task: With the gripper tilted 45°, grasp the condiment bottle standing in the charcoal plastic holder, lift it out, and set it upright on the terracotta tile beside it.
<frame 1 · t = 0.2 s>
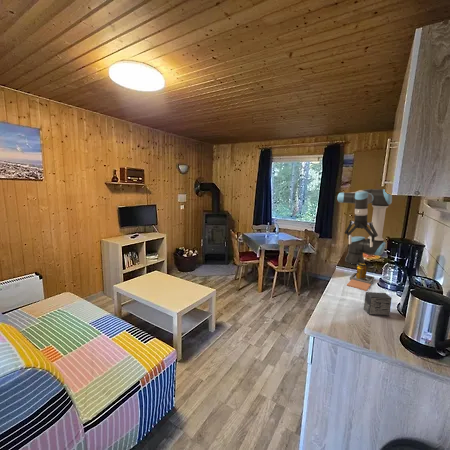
hand: (360, 245, 163), 27 cm above the countertop, tool pointing down, fingers open, 13 cm apart
holder: (361, 279, 172), on the countertop
tile: (358, 285, 162), on the countertop
small box: (376, 313, 128), on the countertop
condiment: (361, 280, 172), resting in holder
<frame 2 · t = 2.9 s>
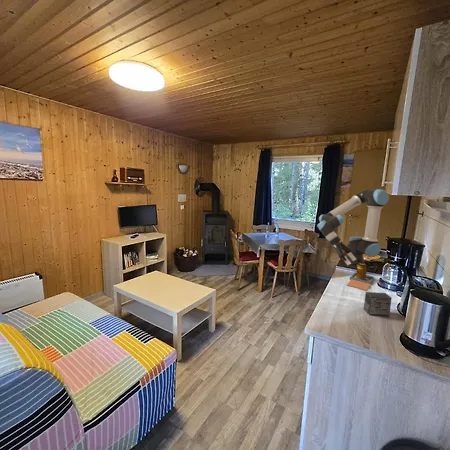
hand: (352, 262, 174), 12 cm above the countertop, tool tilted 45°, fingers open, 13 cm apart
nothing on the countertop moved.
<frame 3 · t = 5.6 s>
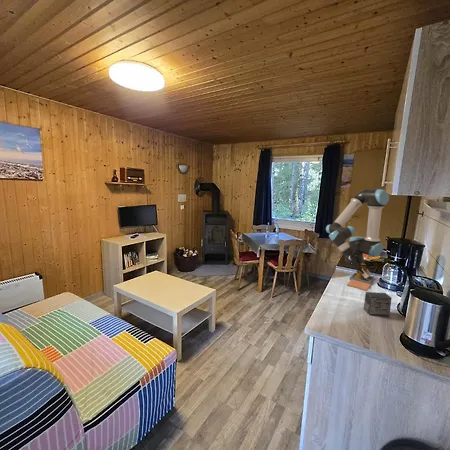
hand: (368, 275, 169), 4 cm above the countertop, tool tilted 45°, fingers closed on condiment, 6 cm apart
condiment: (361, 280, 172), resting in holder, touching gripper
everything else where it was.
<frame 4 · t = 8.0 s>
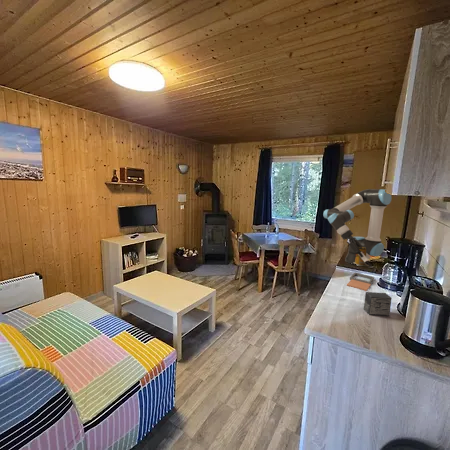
hand: (367, 259, 161), 18 cm above the countertop, tool tilted 45°, fingers closed on condiment, 6 cm apart
condiment: (361, 264, 164), point 13 cm above the countertop, touching gripper
everything else where it was.
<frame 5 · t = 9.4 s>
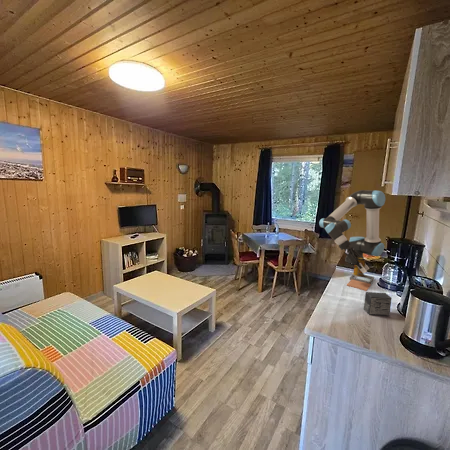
hand: (366, 271, 157), 12 cm above the countertop, tool tilted 45°, fingers closed on condiment, 6 cm apart
condiment: (359, 275, 160), point 7 cm above the countertop, touching gripper
everything else where it was.
when the fingers open (6 cm above the countertop, at t = 10.7 s): condiment stays where it is, resting on tile.
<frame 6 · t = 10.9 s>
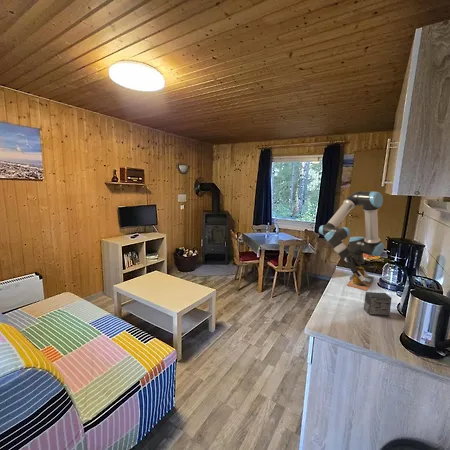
hand: (365, 278, 158), 6 cm above the countertop, tool tilted 45°, fingers open, 8 cm apart
condiment: (359, 284, 162), point 1 cm above the countertop, touching tile
everything else where it was.
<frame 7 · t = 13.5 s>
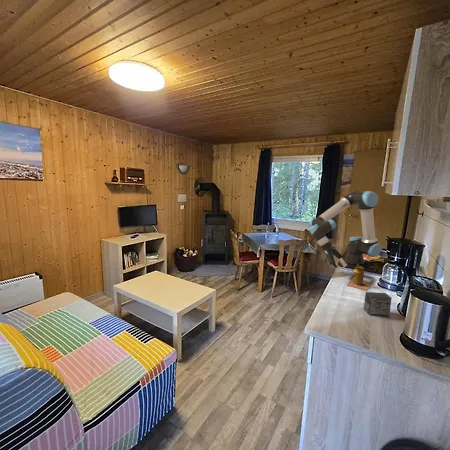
hand: (342, 268, 169), 9 cm above the countertop, tool tilted 40°, fingers open, 13 cm apart
nothing on the countertop moved.
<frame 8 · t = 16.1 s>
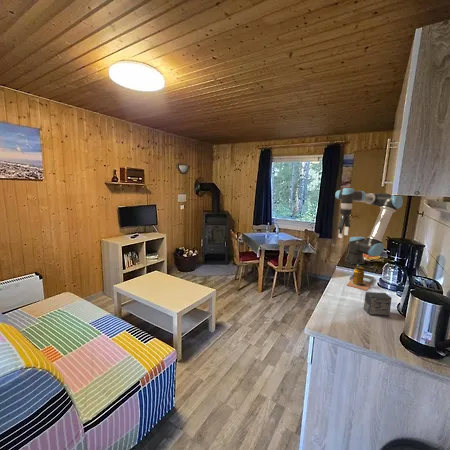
hand: (343, 236, 182), 29 cm above the countertop, tool pointing down, fingers open, 13 cm apart
nothing on the countertop moved.
at the end: condiment inside the target area on the tile (0.4 cm from its centre), point 0.8 cm above the tile's base; condiment tilted 0°; the gripper is holding nothing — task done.
